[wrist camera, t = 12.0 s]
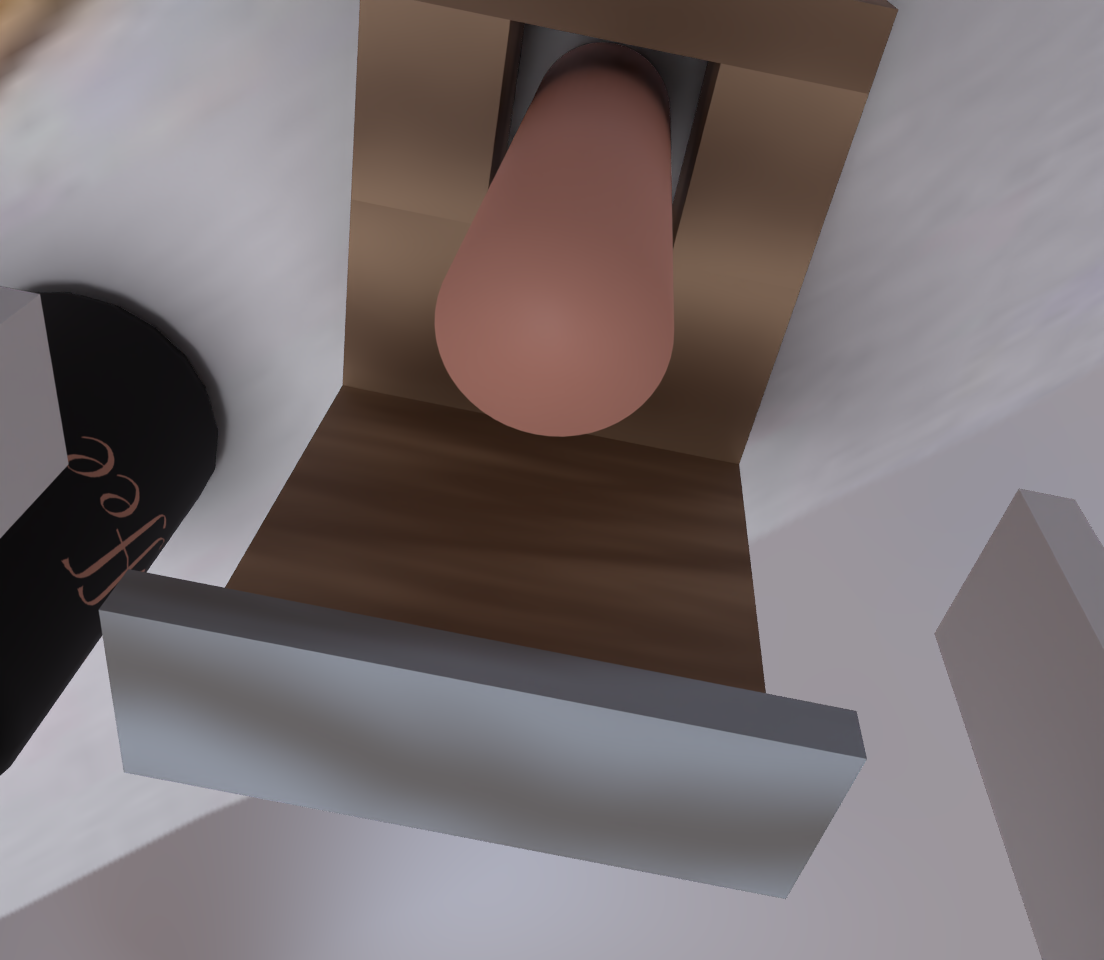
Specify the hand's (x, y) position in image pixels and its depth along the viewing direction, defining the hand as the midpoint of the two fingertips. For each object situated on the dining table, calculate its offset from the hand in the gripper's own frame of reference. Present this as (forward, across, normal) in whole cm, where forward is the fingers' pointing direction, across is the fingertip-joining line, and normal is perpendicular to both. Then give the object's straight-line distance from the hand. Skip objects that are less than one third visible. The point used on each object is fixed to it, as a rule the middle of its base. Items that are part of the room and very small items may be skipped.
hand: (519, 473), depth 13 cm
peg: (+21, 0, 0) cm, 21 cm away
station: (+21, 0, -3) cm, 21 cm away
